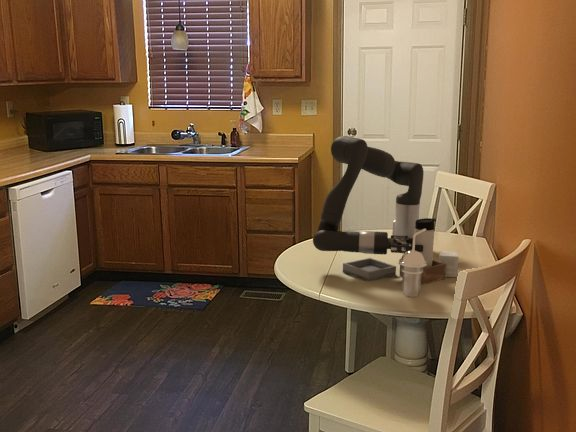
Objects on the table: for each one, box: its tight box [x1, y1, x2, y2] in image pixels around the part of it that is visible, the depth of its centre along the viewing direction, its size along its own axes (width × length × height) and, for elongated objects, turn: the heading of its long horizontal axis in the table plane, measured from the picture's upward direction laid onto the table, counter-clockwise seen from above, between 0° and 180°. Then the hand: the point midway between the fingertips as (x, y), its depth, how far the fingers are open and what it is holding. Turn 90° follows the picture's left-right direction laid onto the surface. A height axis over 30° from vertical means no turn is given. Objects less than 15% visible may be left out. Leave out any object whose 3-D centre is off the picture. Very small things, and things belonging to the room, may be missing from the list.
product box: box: [438, 250, 459, 278], centre depth 212 cm, size 6×6×7 cm
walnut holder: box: [399, 259, 446, 285], centre depth 209 cm, size 11×11×5 cm
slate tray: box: [342, 257, 397, 282], centre depth 212 cm, size 13×13×3 cm
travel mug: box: [415, 217, 437, 268], centre depth 207 cm, size 6×7×20 cm
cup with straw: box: [397, 229, 427, 298], centre depth 190 cm, size 8×9×20 cm
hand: (422, 245), depth 207 cm, fingers open, 8 cm apart
